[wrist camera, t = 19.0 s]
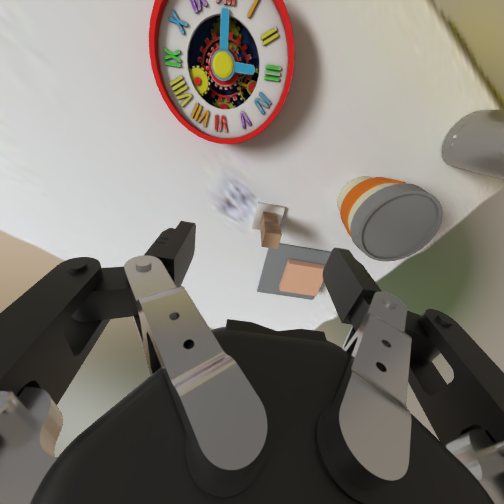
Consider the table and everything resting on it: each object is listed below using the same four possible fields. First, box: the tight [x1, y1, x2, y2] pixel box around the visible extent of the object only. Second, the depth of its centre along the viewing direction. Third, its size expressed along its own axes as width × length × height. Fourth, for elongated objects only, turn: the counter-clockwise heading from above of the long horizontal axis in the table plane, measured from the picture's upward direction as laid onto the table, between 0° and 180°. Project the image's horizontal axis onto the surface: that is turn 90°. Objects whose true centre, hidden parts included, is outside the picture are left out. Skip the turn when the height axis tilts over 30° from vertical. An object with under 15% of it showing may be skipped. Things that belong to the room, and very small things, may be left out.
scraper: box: [253, 202, 285, 249], centre depth 43 cm, size 6×6×11 cm
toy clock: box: [149, 0, 294, 144], centre depth 32 cm, size 20×6×20 cm
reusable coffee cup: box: [337, 176, 442, 261], centre depth 39 cm, size 12×13×15 cm
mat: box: [257, 243, 331, 300], centre depth 56 cm, size 16×16×1 cm
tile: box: [279, 259, 325, 296], centre depth 55 cm, size 2×9×10 cm
